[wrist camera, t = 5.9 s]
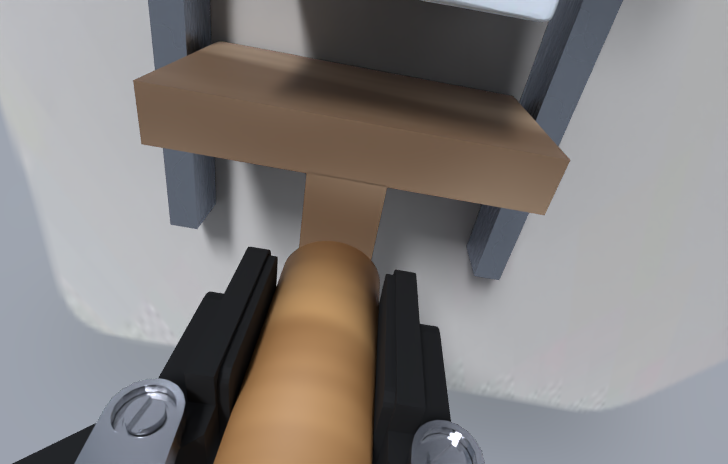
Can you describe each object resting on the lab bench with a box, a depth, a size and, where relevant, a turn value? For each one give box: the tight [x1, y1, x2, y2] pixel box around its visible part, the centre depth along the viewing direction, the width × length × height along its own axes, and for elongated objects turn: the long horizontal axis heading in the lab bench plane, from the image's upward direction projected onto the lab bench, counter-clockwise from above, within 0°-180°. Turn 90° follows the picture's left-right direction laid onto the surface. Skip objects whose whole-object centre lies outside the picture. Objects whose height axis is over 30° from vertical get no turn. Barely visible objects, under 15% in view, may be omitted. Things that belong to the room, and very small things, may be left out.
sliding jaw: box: [133, 41, 570, 464], centre depth 11 cm, size 6×10×12 cm, turn 80°
